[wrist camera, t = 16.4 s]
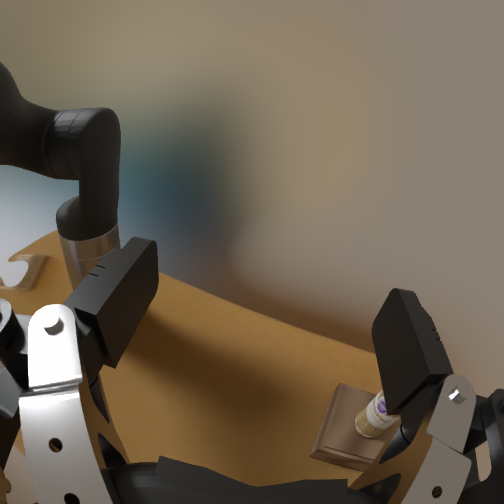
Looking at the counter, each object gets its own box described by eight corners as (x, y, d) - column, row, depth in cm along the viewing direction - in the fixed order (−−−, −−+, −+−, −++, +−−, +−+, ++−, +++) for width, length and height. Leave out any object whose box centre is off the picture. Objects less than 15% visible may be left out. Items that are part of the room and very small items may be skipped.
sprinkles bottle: (347, 421, 29) (402, 363, 22) (369, 404, 31) (423, 344, 24) (367, 445, 26) (432, 394, 19) (389, 426, 28) (450, 371, 21)
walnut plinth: (308, 456, 28) (319, 447, 26) (331, 394, 37) (341, 381, 35) (379, 474, 25) (395, 467, 23) (392, 413, 34) (405, 401, 31)
